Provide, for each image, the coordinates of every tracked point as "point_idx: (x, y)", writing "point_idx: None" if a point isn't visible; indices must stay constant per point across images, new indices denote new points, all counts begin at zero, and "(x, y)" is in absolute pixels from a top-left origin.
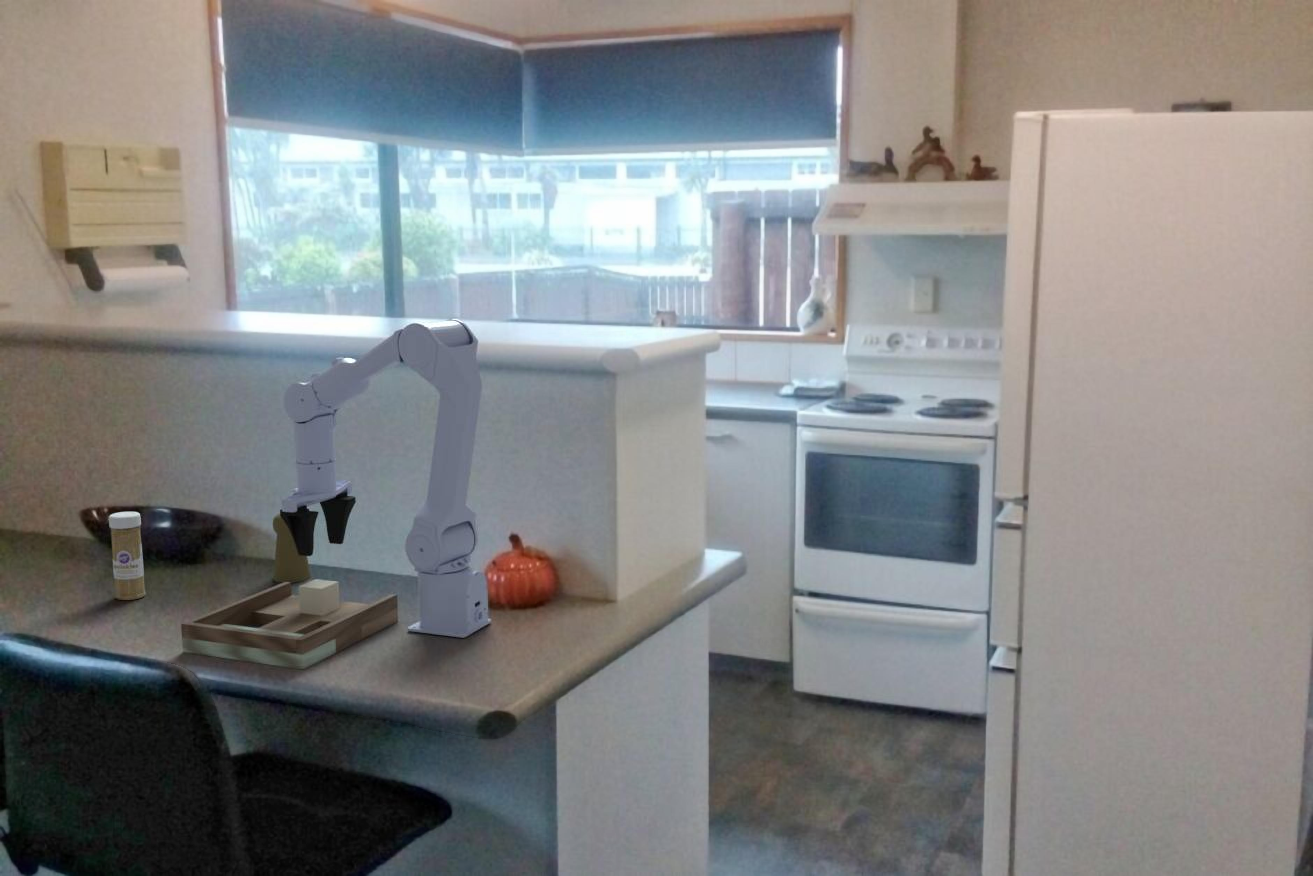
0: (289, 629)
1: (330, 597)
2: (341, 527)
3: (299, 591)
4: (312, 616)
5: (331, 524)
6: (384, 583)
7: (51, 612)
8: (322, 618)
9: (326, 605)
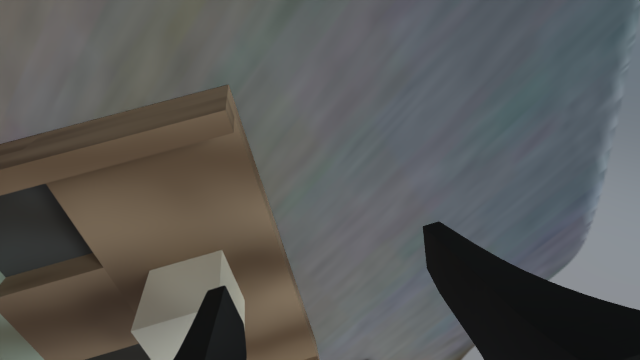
0: (58, 348)
1: None
2: (468, 328)
3: (136, 319)
4: None
5: (473, 296)
6: (531, 118)
7: None
8: None
9: None
